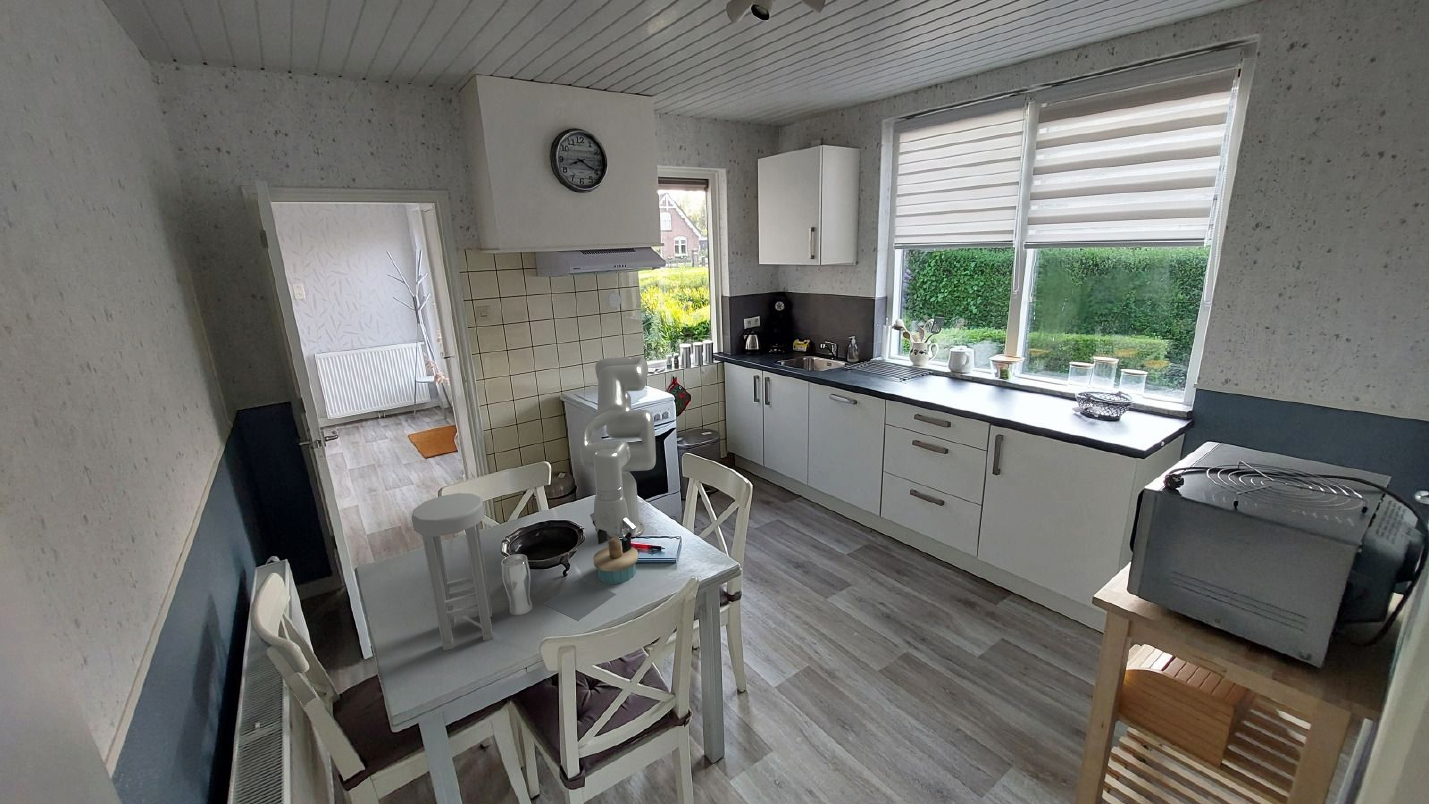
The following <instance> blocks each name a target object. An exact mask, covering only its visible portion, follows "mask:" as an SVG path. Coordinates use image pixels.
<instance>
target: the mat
mask: <svg viewBox="0 0 1429 804" xmlns="http://www.w3.org/2000/svg"><path fill="white" fill-rule="evenodd" d="M616 595H617V593H615V592H612V591H610V590H608V589H605V588H603V587H600V586H598V585H596V584H593V583H591V582H588V580H587V581H586V580H584V579H580V580H579V581H577V582H576V583H574V584H572V585H570V586H569V587H568V588H565V589H564V590H563V591H561V592H559V593H558V594H556V595H554V596H553V597H551V598H550V599H548V600H547V601H545V602H543V603H542V605H544V606H546V607H548V608H551V609H553V610H555V611H557V612H559V613H561V614H563V615H565V616H567V617H569V618H571V619H573V620H576V621H578V622H579V621H580V620H582V619H583V618H584V617H586V616H588V615H589V614H590V613H592V612H593V611H595V610H596V609H597V608H599V607H600V606H602V605H603V604H605V603H607V601H609V600H610V599H612V598H614V597H615V596H616Z"/></svg>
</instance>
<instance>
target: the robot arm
mask: <svg viewBox="0 0 1429 804" xmlns="http://www.w3.org/2000/svg"><path fill="white" fill-rule="evenodd" d="M594 370H595V375H596V378H597V379H596V380H597V382H598V384H597V409H596V411H595V412H594V413H593V414H592V415H591V416H590V417H589V419H588V420H587V421H586V423H585V425H584V426H583V428H582V431H581V435H580V436H581V437H580V449H579V450H580V454H579V455H580V461H581V464H582V465H583V466H584V467H585V468H589V469H593V471H594V482H595V487H594V489H595V492H596V495H595V496H594V502H593V512H592V513H590V515H589V516H590V519H591V521H592V524H593V526H594V527H595V528H594V529H595V532H596V534H597V544H598V545H602V544H603V543H606V542H608V537H609V538H610V539H611V538H619V537H622V539H623V540H620V541H621V545H622V552H623V553H626V552H627V551H629V550H630V549H631V547H632V540H631V539H632V538H631V537H635V538H637V537H639V536H641V535H642V534H643V533H644V531H645V525H644V523H642V522H641V521H640V515H639V513H640V512H639V503H638V490H637V482H636V479H635V477H634V476H633V475H632V473H631V472H635V471H636V472H639V471H649V470H652V469H654V467H655V465H656V461H657V455H656V453H657V452H656V450H657V449H656V434H655V433H656V432H655V431H656V430H655V421H654V416H653V414H652V413H651V411H650V410H647V409H632V397H631V394H630V393H629V392H639V391H643V390H644V388H645V387H646V385H647V380H648V376H649V375H648V374H649V366H648V362H647V359H646V358H644V357H642V356H625V357H624V356H623V357H620V356H617V357H616V356H615V357H606V358H602V359H600V360H598V361H596V363H595V367H594ZM603 427H605V429H606V434H607V436H608V438H609V439H611V441H610V440H609V441H608V440H607V441H605V440H603V441H592V440H593V437H594V435H595V434H596V433H597V432H598V430H601V428H603ZM612 439H613V440H612ZM630 439H631V440H632V439H633V440H634V439H638V440H639V439H640V440H641V441H631V442H630V441H628V442H627V441H625V440H630ZM623 440H624V441H623ZM636 536H637V537H636Z"/></svg>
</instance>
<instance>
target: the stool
mask: <svg viewBox="0 0 1429 804" xmlns="http://www.w3.org/2000/svg"><path fill="white" fill-rule="evenodd" d="M483 519H485V506H484V499H483V497H481V496H478V495H476V494H474V493H465V492H464V493H463V492H462V493H461V492H457V493H456V492H455V493H451V494H445V495H444V494H443V495H440V496H437V497H434V498H432V499H428V500H425V501H423V502H422V503H421V504H419V505H418V506H416V507H415V508H413V511H412V514H411V523H412V527H413V531H414V532H415V533H417V534H418V535H420V536H421V538H422V542H423V547H424V552H425V557H426V565H427V568H428V569H427V570H428V575H429V580H430V585H431V591H432V597H433V601H434V606H435V607H434V608H435V613H436V618H437V622H438V628H439V634H440V640H441V644H442V650H443V651H448V650H451V649H453V648H454V644H455V643H454V637H453V631H452V629H453V628H456V623H457V621H456V617H457V616H458V617H459V616H463V615H466V614H472V613H476V612H478V615H479V621H480V627H481V633H482V635H481V636H482V640H483V642H484V641H488V640H493V639H494V638H493V637H494V633H493V626H492V620H491V617H493V608H492V602H491V601H492V600H491V595H490V590H489V583H488V575H487V570H486V563H485V557H484V551H483V545H482V539H481V538H482V537H481V532H480V526H479V524H480V522H481V521H483ZM464 531H465V536H466V543H467V549H468V555H469V562H470V567H471V575H472V576H469V577H464V578H460V579H455V580H450V581H449V577H448V572H447V571H448V570H447V565H446V561H445V554H444V548H443V544H442V543H443V542H442V536H446V535H447V536H448V535H452V534H458V533H460V532H464ZM472 583H473V585H474V586H473V587H469V588H463V589H459V590H454V591H451V588H453V587H457V586H462V585H468V584H472ZM473 601H476V603H477V604H476V605H475V604H473V605H469V606H466V607H461V608H458V609H454V606H456V605H460V604H464V603H469V602H473Z"/></svg>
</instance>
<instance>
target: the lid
mask: <svg viewBox="0 0 1429 804" xmlns="http://www.w3.org/2000/svg"><path fill="white" fill-rule="evenodd" d="M607 542H608V546H607V547H604V548H601V549H599V551H597V552H596V553H595V554H594V555H593V558H592V559H593V561H592V562H593V565H594V567H595V568H596V570H598V569H599V570H602V571H609V572H613V571H620V570H624V569H627V568H629V567H631V566H633V565H634V564H635V565H636V563H638V560H639V552H638V550H637V549H636V548H635V547H633V546H631V549H630V550H629V551H627V552H626V553H623V552H622V543H621V540H620V539H619V538H611V537H610V539H609V540H608V539H607Z"/></svg>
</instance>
